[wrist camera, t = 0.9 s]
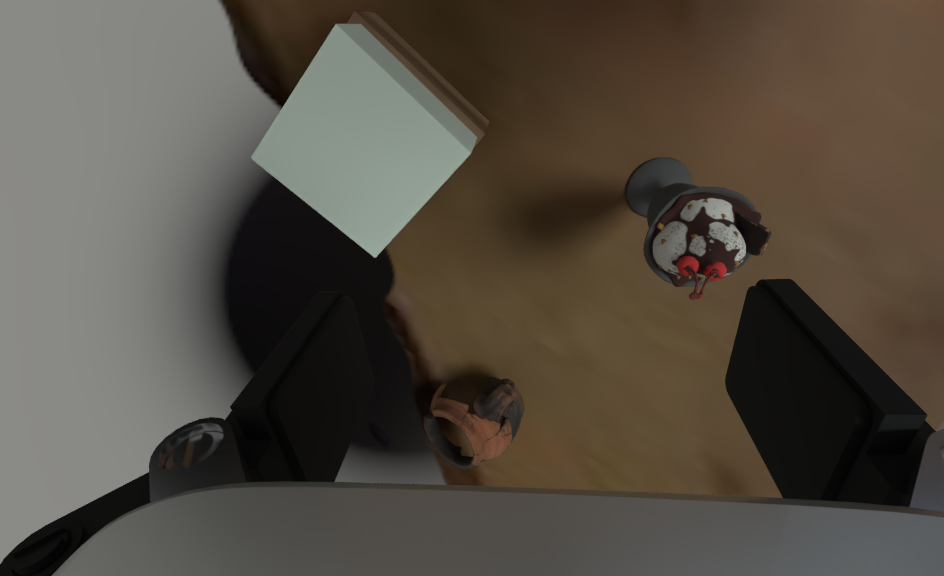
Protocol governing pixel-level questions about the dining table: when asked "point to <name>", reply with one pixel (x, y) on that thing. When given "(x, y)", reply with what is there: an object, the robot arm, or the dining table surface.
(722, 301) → the dining table surface
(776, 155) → the dining table surface
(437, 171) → the sage top block
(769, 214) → the dining table surface
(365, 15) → the walnut base block
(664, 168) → the sundae
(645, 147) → the dining table surface
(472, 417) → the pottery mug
